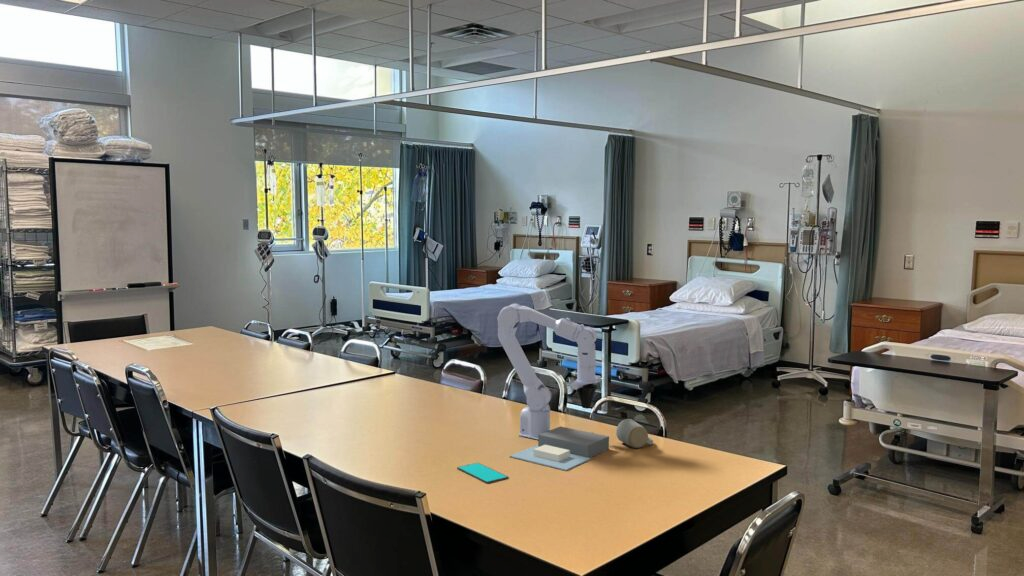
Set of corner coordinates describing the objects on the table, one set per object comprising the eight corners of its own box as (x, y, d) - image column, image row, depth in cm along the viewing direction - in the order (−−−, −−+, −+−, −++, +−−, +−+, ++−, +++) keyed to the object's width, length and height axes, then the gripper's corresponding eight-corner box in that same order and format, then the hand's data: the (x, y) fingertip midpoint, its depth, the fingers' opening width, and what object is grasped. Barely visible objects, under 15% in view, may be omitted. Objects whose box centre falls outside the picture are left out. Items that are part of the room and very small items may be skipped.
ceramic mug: (628, 450, 226) (629, 425, 226) (615, 443, 234) (616, 419, 233) (658, 447, 230) (659, 423, 230) (644, 440, 238) (645, 416, 237)
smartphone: (487, 482, 197) (456, 467, 209) (487, 485, 197) (456, 470, 209) (509, 476, 202) (478, 462, 214) (509, 479, 202) (478, 465, 214)
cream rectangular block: (545, 444, 224) (545, 451, 224) (533, 449, 220) (533, 455, 220) (570, 450, 219) (569, 456, 219) (558, 455, 214) (558, 461, 214)
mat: (509, 457, 220) (509, 455, 220) (535, 446, 230) (535, 445, 230) (566, 471, 208) (566, 469, 208) (590, 459, 218) (590, 458, 218)
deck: (538, 447, 229) (538, 434, 229) (560, 438, 239) (560, 426, 239) (587, 458, 218) (588, 445, 218) (608, 449, 228) (609, 436, 228)
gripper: (584, 370, 228) (584, 414, 229) (609, 363, 239) (608, 405, 240) (565, 368, 232) (565, 410, 233) (590, 361, 243) (590, 402, 244)
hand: (586, 407), depth 237 cm, fingers closed
